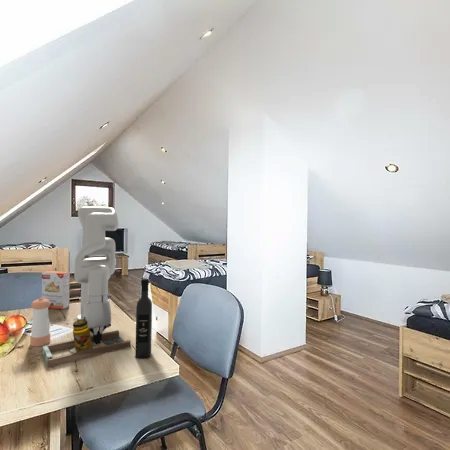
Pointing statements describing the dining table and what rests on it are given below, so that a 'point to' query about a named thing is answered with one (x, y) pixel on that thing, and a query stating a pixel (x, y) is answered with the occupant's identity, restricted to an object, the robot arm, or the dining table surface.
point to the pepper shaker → (40, 323)
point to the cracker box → (56, 288)
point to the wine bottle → (143, 323)
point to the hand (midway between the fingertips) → (97, 342)
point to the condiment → (81, 336)
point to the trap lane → (75, 356)
